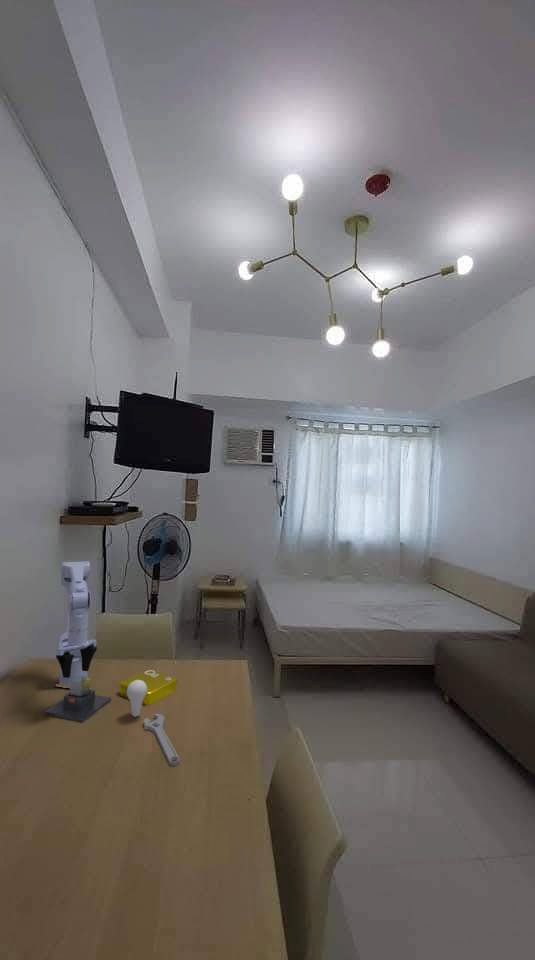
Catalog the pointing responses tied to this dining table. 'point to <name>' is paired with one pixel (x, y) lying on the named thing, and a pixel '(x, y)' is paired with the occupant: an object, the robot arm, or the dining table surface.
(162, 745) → the adjustable wrench
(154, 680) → the element tile
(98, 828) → the dining table surface
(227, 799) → the dining table surface
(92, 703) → the stand base
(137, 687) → the lightbulb
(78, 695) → the stand column
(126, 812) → the dining table surface
